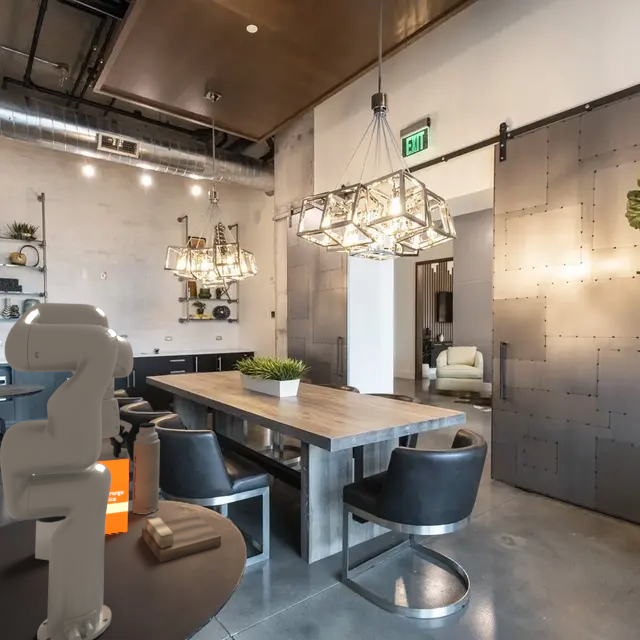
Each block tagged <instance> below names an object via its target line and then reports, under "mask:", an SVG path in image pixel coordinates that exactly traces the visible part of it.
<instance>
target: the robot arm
mask: <svg viewBox="0 0 640 640" xmlns="http://www.w3.org/2000/svg"><path fill="white" fill-rule="evenodd" d="M107 318H108V317H107V315H106V313H105V312H104V311H103V310H102V309H101V308H99V307H98V306H95V305H92V304H87V303H65V302H63V303H59V302H57V303H56V302H44V303H43V302H40V303H37V304H34V305H32V306H30V307H29V308H28V309H27V310H25V311H24V312H23V313H22V315H21V316H20V317H19V319H18V320H17V321H16V322H15V323H14V325H13V326H12V327H11V328H10V330H9V331H8V334H7V336H6V338H5V343H4V357H5V360H6V362H7V364H8V366H10V368H12V369H13V370H15V371H18V372H21V373H22V372H23V373H49V372H53V373H54V372H55V373H56V372H57V373H59V372H71V373H72V374H73V375H72V376H71V377H69V378H68V379H66V380H65V381H64V382H63V383H61V385H60V386H59V387H58V388H57V389H56V390H55V391H54V392H53V393H52V395H50V397H49V398H48V401H47V403H46V411H47V419H37V420H36V419H35V420H33V419H31V420H23V421H20V422H17V423H14V424H13V425H11V426H10V427H8V429H7V430H5V433H4V435H3V437H2V441H1V444H0V474H1V480H2V488H3V495H4V500H5V501H4V502H5V507H6V510H7V513H8V515H9V516H10V517H11V518H12V519H14V520H18V521H27V520H28V521H29V520H36V519H37V520H38V518H47V517H55V516H57V517H58V516H66V518H65V519H64V521H63V522H62V523H61V524H60V525H59V526H58V528H57V529H56V530H55V532H54V533H53V535H52V537H51V540H50V546H49V560H48V587H47V588H48V590H47V591H48V593H47V615H46V616H47V618H46V619H44V621H43V622H42V623H41V624H40V625H39V627H38V629H37V632H36V633H37V635H36V640H94V639H96V638H97V637H99V636H100V635H101V634H103V633H104V632H105V631H106V629H108V627H109V626H110V625H111V623H112V622H111V621H112V610H111V609H110V607H108V606H107V605H105V604H104V587H105V586H104V585H105V584H104V581H105V579H104V578H105V549H106V548H105V544H106V541H105V540H106V535H105V523H106V512H107V504H108V499H109V493H110V488H111V473H110V470H109V468H108V467H107V466H106V465H104V464H102V463H98V462H99V461H98V460H99V458H100V457H101V453H102V448H103V446H102V445H103V439H108V438H109V439H110V438H114V441H113V453H112V454H113V457H114V458H116V459H119V457H120V455H121V453H122V443H123V442H124V440H125V439H126V438H127V437H128V435H129V433H130V431H131V429H132V427H133V425H132V424H131V423H129V422H127V421H125V420H123V419H120V407H119V403H118V399H117V398H115V379H117V378H126V377H128V376H130V375H131V373H132V371H133V368H134V352H133V348H132V345H131V343H130V342H129V341H128V340H127V339H126V338H124V337H122V336H119V335H117V333H116V332H115V331H114V330H113V329H111V328H110V327H109V322H108V319H107ZM120 426H122V427H124V429H123V431H122V432H121V433H120V430H121V429H120V428H121V427H120Z"/></svg>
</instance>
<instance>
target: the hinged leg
mask: <svg viewBox="0 0 640 640" xmlns="http://www.w3.org/2000/svg"><path fill="white" fill-rule="evenodd" d="M145 519H146V520H145V521H146V522H145V526H146V529H147V530H148V532H149V533H150V534H151V535H152V537H153V538H154V539H155V541H156V542H157V543H158V544H159V546H160V547H161V548H164V547H167V546H171V545H173V532H172V531H171V530H170V529H169V528H168V527H167V525H166V524H165V523H164V522H165V521H164V520H163V519H162V518H161V517H160V516H159V515H157V514H155V513H154V514H153V513H152V514H147V516H146V518H145Z"/></svg>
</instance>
